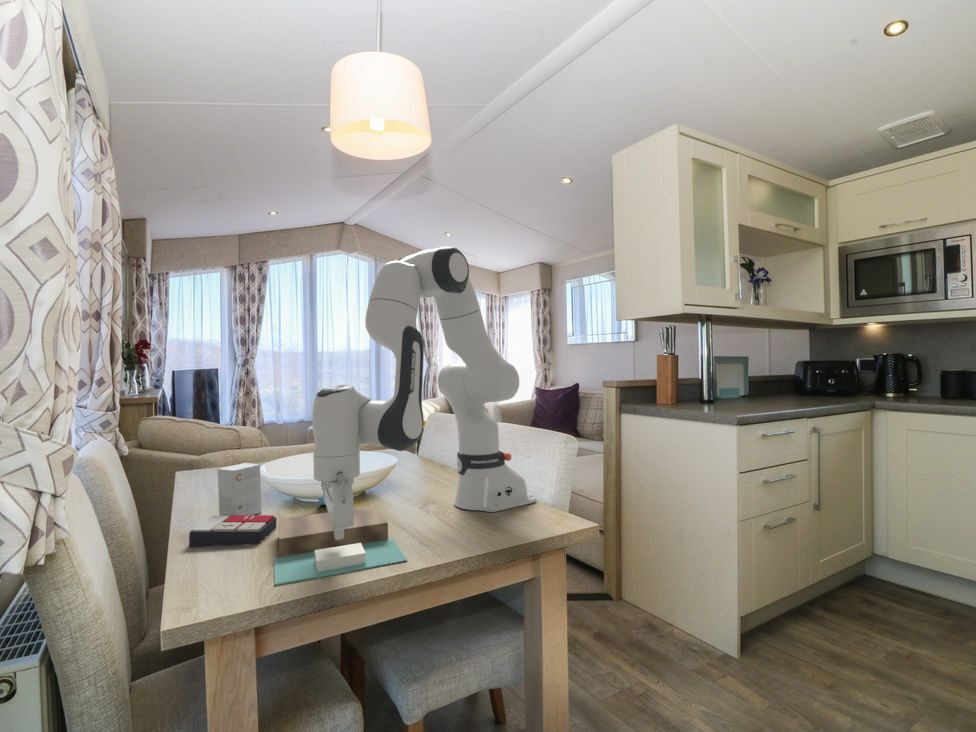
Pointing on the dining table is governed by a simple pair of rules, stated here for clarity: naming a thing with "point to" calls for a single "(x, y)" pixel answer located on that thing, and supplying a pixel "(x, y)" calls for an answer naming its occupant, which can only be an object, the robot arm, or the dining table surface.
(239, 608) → the dining table surface
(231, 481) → the small box
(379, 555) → the mat
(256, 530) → the calculator
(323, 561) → the white rectangular eraser
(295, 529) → the board
